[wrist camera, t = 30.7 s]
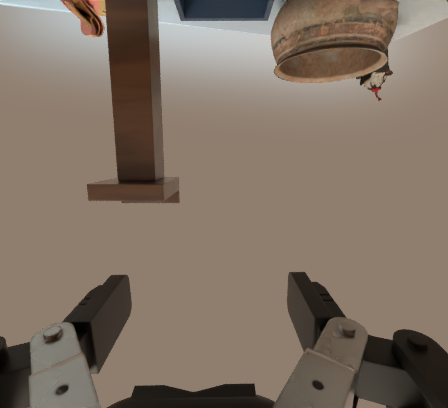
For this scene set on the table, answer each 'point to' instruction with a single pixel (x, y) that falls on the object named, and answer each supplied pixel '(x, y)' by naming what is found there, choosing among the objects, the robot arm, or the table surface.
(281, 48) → the cooking pot
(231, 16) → the blue open box
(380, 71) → the sundae
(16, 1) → the table surface
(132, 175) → the dark wooden post
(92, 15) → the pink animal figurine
